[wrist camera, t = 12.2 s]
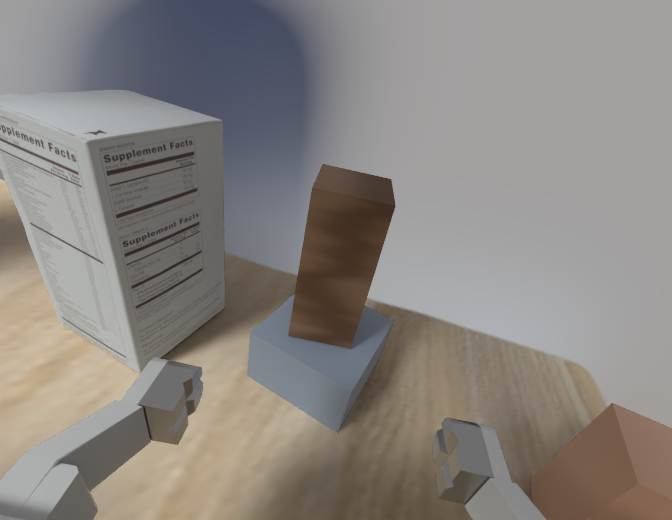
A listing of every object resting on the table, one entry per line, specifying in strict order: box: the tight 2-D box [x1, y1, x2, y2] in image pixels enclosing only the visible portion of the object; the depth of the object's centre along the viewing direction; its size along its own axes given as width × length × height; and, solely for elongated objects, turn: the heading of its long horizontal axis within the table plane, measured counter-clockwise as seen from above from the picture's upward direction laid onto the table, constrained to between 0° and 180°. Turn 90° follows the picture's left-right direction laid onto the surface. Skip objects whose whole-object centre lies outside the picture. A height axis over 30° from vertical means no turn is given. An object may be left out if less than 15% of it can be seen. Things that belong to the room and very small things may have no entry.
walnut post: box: [288, 164, 395, 349], centre depth 23 cm, size 4×4×11 cm
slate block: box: [248, 293, 394, 433], centre depth 27 cm, size 8×8×5 cm
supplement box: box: [0, 90, 225, 373], centre depth 25 cm, size 10×9×17 cm
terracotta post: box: [530, 403, 672, 520], centre depth 18 cm, size 4×4×9 cm
